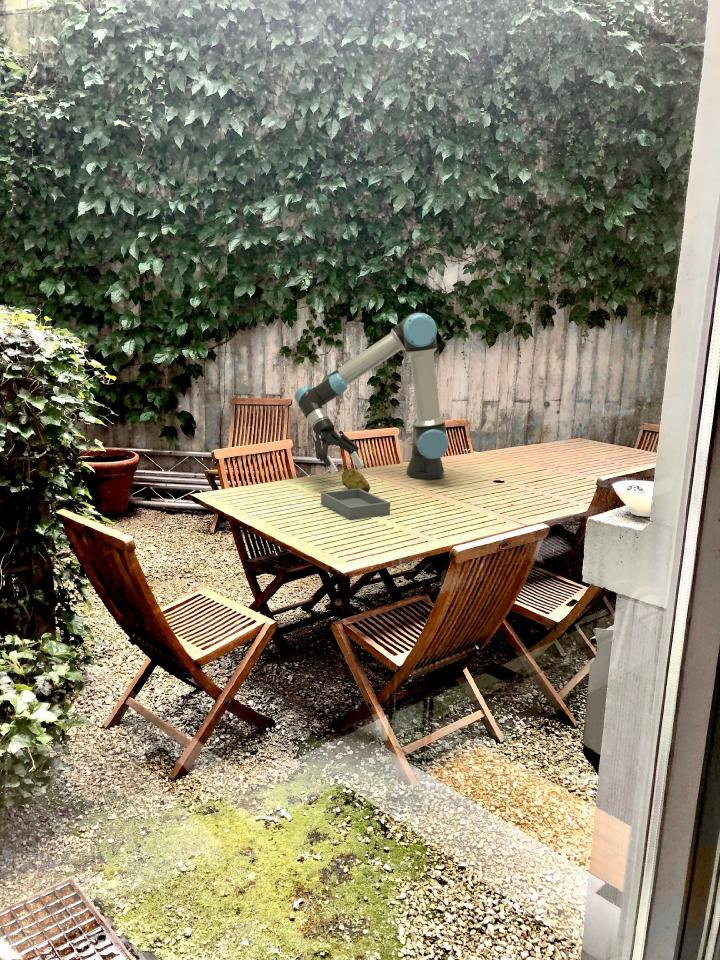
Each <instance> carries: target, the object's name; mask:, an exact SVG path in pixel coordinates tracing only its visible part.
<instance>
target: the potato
mask: <svg viewBox="0 0 720 960" xmlns="http://www.w3.org/2000/svg"><path fill="white" fill-rule="evenodd" d="M341 482H342V485H343V486H344V487H346V490H349V489H358V488H360V489H362V490H364V491H366V492H368V493H370V490H371V486H370V484H369V482H368V480H367V479H366V478H365V476H364V475H363V474H362V473H360V472H359V470H357V469H354V468H348V469H346V470H344V471H343V472H342V474H341Z"/></svg>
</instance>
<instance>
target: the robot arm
mask: <svg viewBox="0 0 720 960" xmlns="http://www.w3.org/2000/svg"><path fill="white" fill-rule="evenodd" d="M437 332H438V327H437V324H436V321H435V320H434V319H433V317H431V316H430V315H428V314H426V313H424V312H413V313H410V314H409V315H407V316H406V317H405V318H404V319H402V321H400V322H399V323H398V324H397V325H395V327H393V328H391V330H390V333H388V334H387V335H385V336H384V337H382V338H381V339H380V340H378V341H376V342H374V344H372V345H371V346H369V347H368V348H366V349H365V350H364V351H362V352H361V353H359V354H357V355H356V356H354V357H353V358H351V359H350V360H349V361H347V362H345V363H343V365H341V366H340V367H338V368H337V369H335V370H333V371H332V372H330V373H329V374H327V375H325V376H324V377H323V378H322V379H321V380H322V381H321V382H320V383H319V384H317V385H315V386H314V387H311V386H310V385H309V386H308V385H305V386H302V387H300V388H299V389H297V390H296V391H295V393H294V400H295V401H296V404H297V406H298V407H299V409H300V410H301V412H302V414H303V416H304V417H305V418H306V421H307V422H308V424H309V425H310V427H311V428H312V431H313V433H314V434H315V435H314V436H312V441H313V443H314V448H315V449H314V450H315V458H316V459H317V460H319V461H320V462H323V463H324V465H325V466H326V467H327V468H328V470H329V472H330V473H331V475H332V476H335V475H336V474H337V473H338V471H339V470H338V468H337V466H336V465H335V463H334V460H332V457H331V456H330V455H328V452H329V446H336V447H340V449H343V451H345V452H347V453H348V454H350V455H349V456H350V458H351V460H352V461H353V463H354V464H355V466H356V468H357V469H358V470H357V471H360V470H361V469H363V467H364V466H365V465H364V463H363V461H362V460H361V457H360V455H359V453H358V450H360V447H359V446H358V445H356V444H355V442H353V441H352V440H351V438H349V437H348V436H346V435H345V433H344V432H343V431H342V430H339V431H338V432H336V431H335V425H334V424H333V422H332V420H331V419H330V417H329V415H328V413H327V411H326V410H325V409H324V407H323V406H325V405H327V403H329V402H330V401H332V400H334V399H336V398H337V397H339V396H340V395H342V394H343V393H344V392H345V391H346V390H348V389H349V388H348V386H349V385H351V384H352V383H354V382H355V381H357V379H359V378H360V377H362V376H364V375H365V374H366V373H368V372H370V371H372V370H373V369H375V368H376V367H377V366H379V365H380V364H382V363H383V362H385V361H386V360H388V359H389V358H391V357H392V356H393V355H396V354H397V353H398V352H400V351H405V353H406V354H407V355H408V356H409V357H410V363H411V365H410V366H411V372H412V381H413V391H414V398H415V407H416V415H417V416H416V417H417V419H414V420H413V423H412V424H413V425H412V428H413V429H412V442H411V443H412V445H411V458H410V460H409V463H408V464H407V468H406V476H407V477H409V478H414V479H421V480H437V479H438V478H439V479H442V478H444V477H445V471H444V470H445V469H444V466H443V461H442V458H441V457H443V456H444V455H445V454H446V452H447V451H448V448H449V445H450V444H449V442H450V441H449V437H448V435H447V431H446V430H447V429H446V421H445V420H444V418H442V417H441V411H440V403H439V393H438V384H437V383H438V382H437V376H436V365H435V356H434V355H435V354H434V353H435V352H436V350H437V349H438V345H437ZM443 476H444V477H443ZM441 477H442V478H441Z"/></svg>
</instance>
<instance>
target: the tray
mask: <svg viewBox="0 0 720 960" xmlns="http://www.w3.org/2000/svg"><path fill="white" fill-rule="evenodd" d="M320 505H322V506H324V507H326V508H327V509H329V510H330V511H333V512H334V513H336V514H338V515H340V516H342V517H344V518H346V519H348V520H349V521H352V520H359V519H367V518H368V519H369V518H373V517H382V516H387V515H390V514H391V502H389V501H388V500H385V499H383V498H381V497H378V496H377V495H374V494H372V493H370V492H366V491H364V490H362V489H360V488H358V489H349V490H348V489H340V490H334V491H332V490H331V491H326V492H325V491H324V492H321V493H320Z"/></svg>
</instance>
